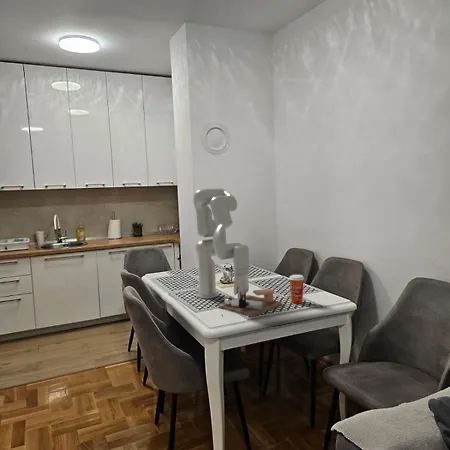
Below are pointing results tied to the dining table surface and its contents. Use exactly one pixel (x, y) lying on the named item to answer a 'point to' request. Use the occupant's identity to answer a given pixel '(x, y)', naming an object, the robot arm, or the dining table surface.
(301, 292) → the paper cup
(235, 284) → the robot arm
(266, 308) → the board
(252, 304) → the link
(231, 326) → the dining table surface
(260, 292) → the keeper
